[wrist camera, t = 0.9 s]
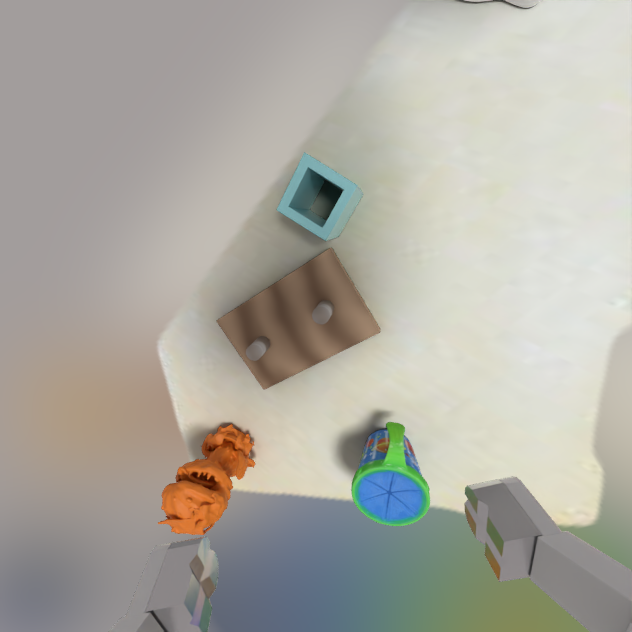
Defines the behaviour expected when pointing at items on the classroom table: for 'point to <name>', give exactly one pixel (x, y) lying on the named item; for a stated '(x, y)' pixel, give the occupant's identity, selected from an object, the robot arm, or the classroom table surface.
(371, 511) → the snack cup
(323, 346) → the pin plate
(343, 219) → the sleeve block
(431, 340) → the classroom table surface
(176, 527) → the orange animal figurine
